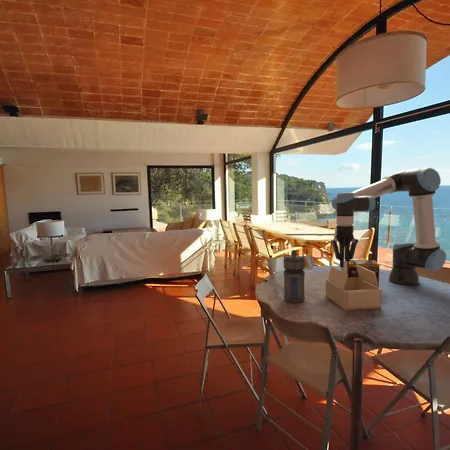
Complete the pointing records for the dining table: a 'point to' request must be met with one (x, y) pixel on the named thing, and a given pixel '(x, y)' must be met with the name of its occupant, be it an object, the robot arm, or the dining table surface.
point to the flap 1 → (338, 276)
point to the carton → (354, 294)
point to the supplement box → (366, 264)
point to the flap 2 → (367, 275)
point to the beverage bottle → (294, 278)
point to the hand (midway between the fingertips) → (344, 273)
